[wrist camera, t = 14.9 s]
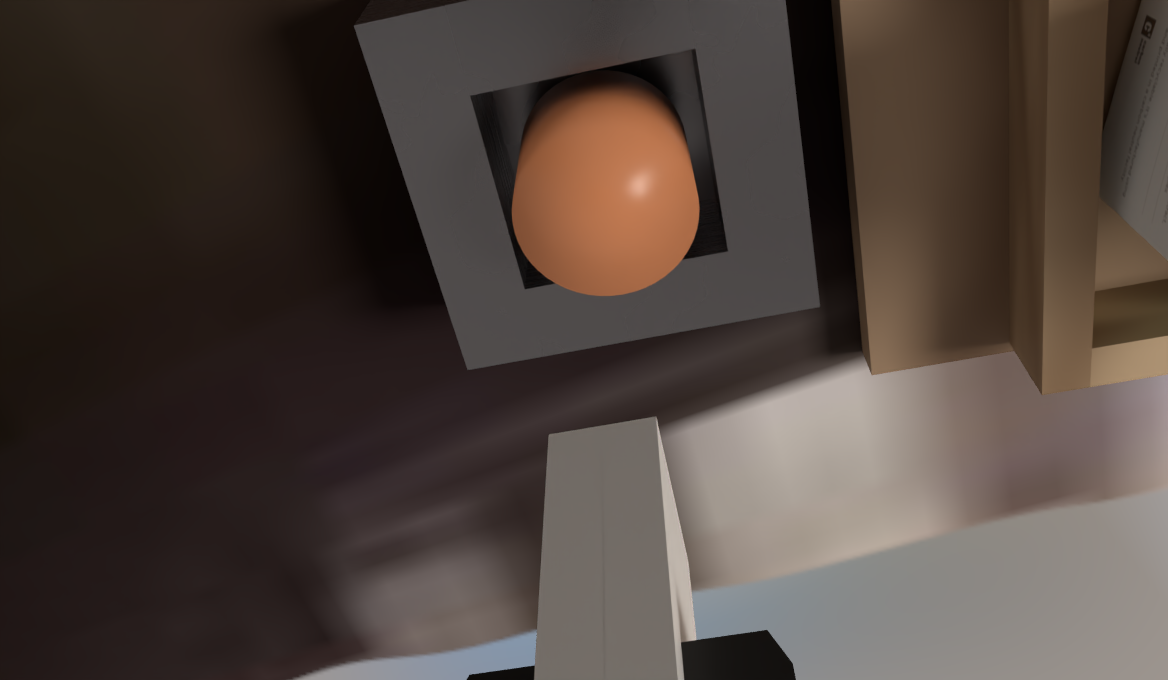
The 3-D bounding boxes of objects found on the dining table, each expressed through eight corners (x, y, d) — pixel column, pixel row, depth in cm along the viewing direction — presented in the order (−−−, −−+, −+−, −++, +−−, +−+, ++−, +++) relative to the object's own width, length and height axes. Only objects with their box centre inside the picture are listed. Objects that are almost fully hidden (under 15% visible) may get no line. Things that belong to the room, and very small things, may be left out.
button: (542, 240, 27) (536, 310, 24) (502, 89, 25) (491, 146, 22) (699, 209, 26) (712, 277, 24) (671, 54, 24) (682, 108, 21)
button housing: (479, 300, 30) (467, 370, 27) (381, -17, 26) (353, 25, 23) (796, 241, 29) (820, 306, 26) (754, -101, 24) (777, -69, 22)
